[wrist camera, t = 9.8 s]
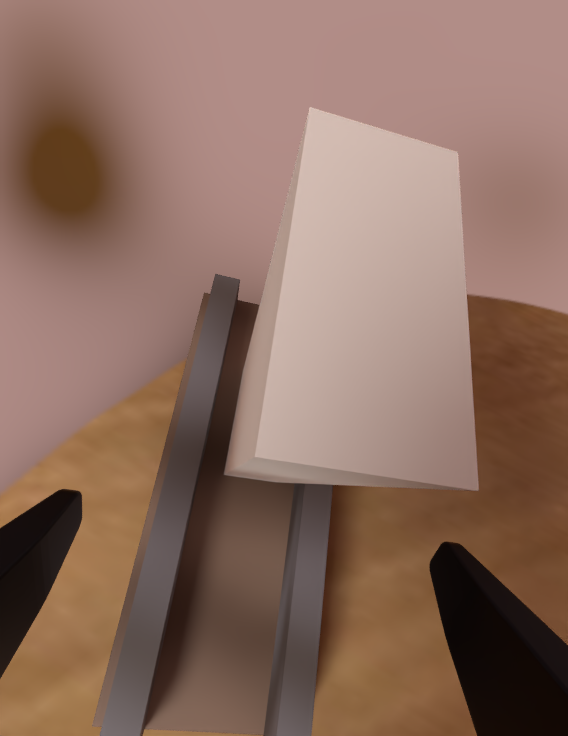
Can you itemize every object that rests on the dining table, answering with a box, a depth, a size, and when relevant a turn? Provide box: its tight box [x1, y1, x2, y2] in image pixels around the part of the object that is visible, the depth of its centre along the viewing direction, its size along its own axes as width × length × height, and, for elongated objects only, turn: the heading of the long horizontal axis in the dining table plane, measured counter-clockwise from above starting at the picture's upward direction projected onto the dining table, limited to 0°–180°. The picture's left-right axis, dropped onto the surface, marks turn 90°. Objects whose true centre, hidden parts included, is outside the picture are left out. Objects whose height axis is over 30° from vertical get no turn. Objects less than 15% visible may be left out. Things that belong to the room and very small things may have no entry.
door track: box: [92, 274, 333, 736], centre depth 15 cm, size 18×8×4 cm, turn 172°
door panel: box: [224, 107, 479, 491], centre depth 10 cm, size 5×2×13 cm, turn 172°
